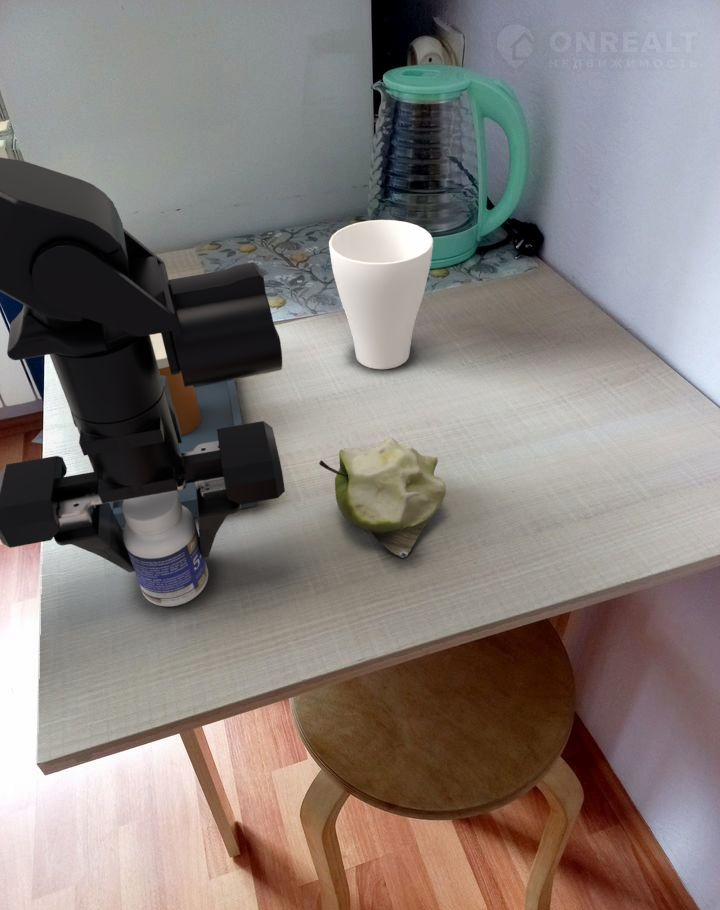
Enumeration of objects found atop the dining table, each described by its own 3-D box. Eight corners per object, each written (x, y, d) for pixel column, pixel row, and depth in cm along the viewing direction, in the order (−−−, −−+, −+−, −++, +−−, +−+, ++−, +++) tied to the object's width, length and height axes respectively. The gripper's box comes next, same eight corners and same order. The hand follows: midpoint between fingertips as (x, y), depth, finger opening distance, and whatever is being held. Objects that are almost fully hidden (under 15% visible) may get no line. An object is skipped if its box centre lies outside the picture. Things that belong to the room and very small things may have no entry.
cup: (380, 393, 74) (378, 275, 65) (317, 355, 80) (307, 241, 71) (448, 354, 79) (455, 239, 70) (383, 321, 85) (382, 211, 76)
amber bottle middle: (152, 442, 68) (129, 363, 62) (151, 411, 72) (129, 335, 66) (204, 433, 69) (186, 355, 63) (200, 403, 73) (183, 327, 67)
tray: (109, 533, 60) (103, 516, 59) (117, 365, 80) (112, 349, 78) (257, 506, 62) (254, 488, 61) (228, 348, 82) (226, 332, 80)
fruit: (321, 548, 60) (302, 469, 56) (371, 487, 66) (357, 412, 62) (420, 570, 55) (407, 486, 51) (463, 502, 62) (455, 423, 58)
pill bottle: (216, 594, 55) (194, 514, 49) (148, 617, 53) (117, 538, 47) (200, 547, 58) (179, 468, 53) (136, 568, 57) (107, 488, 51)
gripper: (251, 311, 51) (275, 470, 62) (-20, 350, 48) (53, 510, 59) (272, 399, 43) (296, 566, 53) (-52, 453, 40) (38, 618, 50)
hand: (169, 560), depth 54 cm, fingers closed on pill bottle, 5 cm apart
